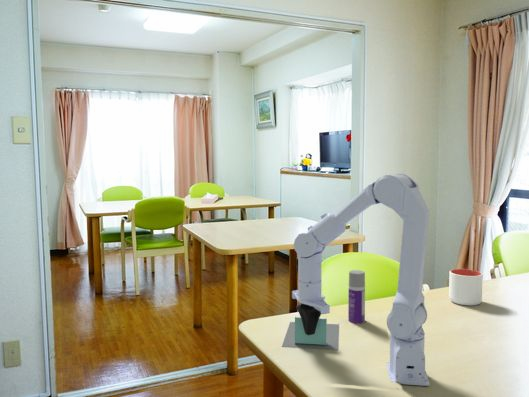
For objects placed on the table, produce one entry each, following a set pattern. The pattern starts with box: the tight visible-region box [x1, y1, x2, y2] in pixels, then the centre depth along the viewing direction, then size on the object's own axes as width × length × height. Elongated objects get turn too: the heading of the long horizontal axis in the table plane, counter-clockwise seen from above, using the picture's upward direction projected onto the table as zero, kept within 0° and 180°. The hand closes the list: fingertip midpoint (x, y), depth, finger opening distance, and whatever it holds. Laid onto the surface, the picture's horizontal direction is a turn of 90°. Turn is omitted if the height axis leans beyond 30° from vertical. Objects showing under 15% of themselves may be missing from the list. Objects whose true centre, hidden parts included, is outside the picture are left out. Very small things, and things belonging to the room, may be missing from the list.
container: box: [347, 269, 366, 324], centre depth 132 cm, size 5×5×15 cm
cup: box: [448, 268, 484, 307], centre depth 151 cm, size 10×10×10 cm
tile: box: [294, 315, 328, 345], centre depth 116 cm, size 2×8×6 cm, turn 80°
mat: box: [281, 321, 340, 351], centre depth 122 cm, size 18×14×1 cm
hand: (309, 333), depth 114 cm, fingers closed
